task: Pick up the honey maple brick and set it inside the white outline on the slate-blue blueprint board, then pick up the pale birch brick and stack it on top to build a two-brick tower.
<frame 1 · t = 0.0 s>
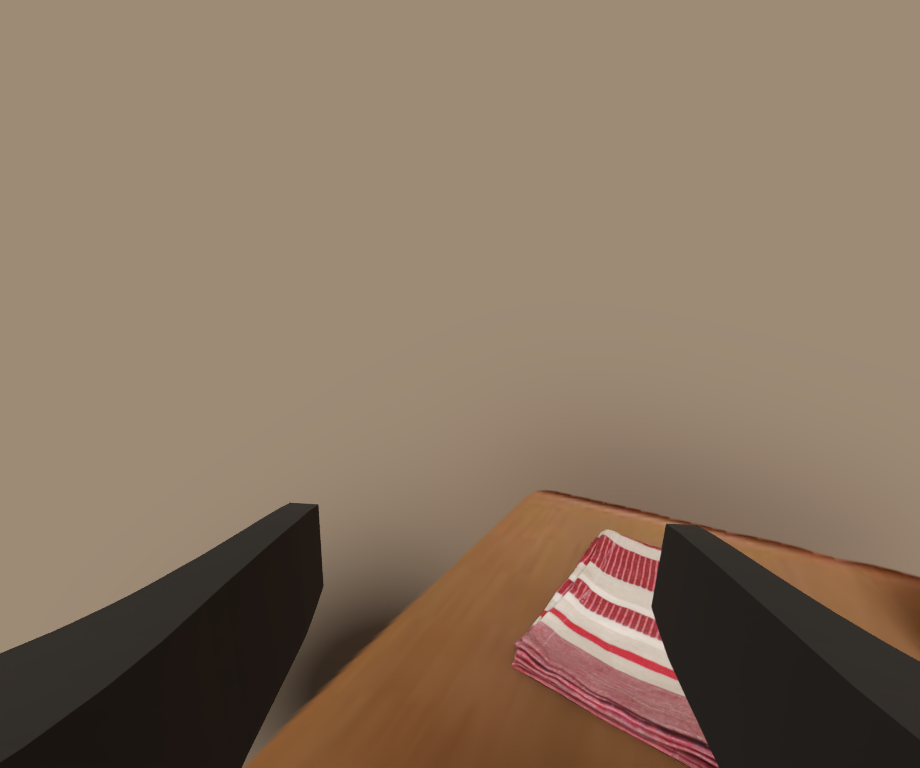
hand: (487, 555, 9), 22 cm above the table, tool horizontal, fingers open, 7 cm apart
dish towel: (657, 634, 39), on the table
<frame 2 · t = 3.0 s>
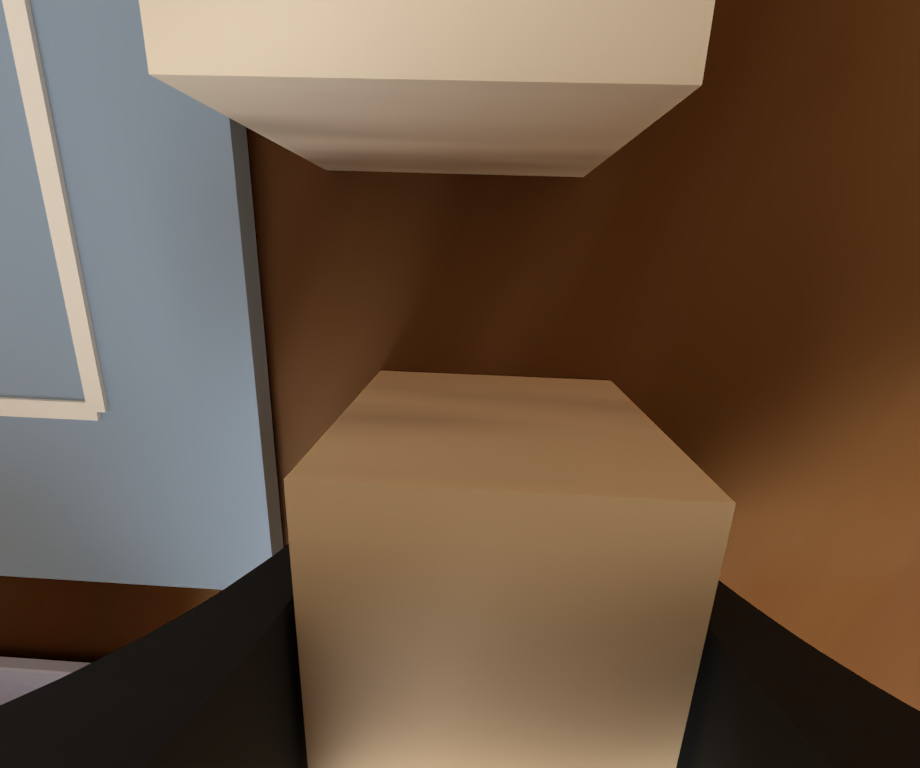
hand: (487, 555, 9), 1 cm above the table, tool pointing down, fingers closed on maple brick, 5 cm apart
maple brick: (486, 517, 11), on the table, touching gripper
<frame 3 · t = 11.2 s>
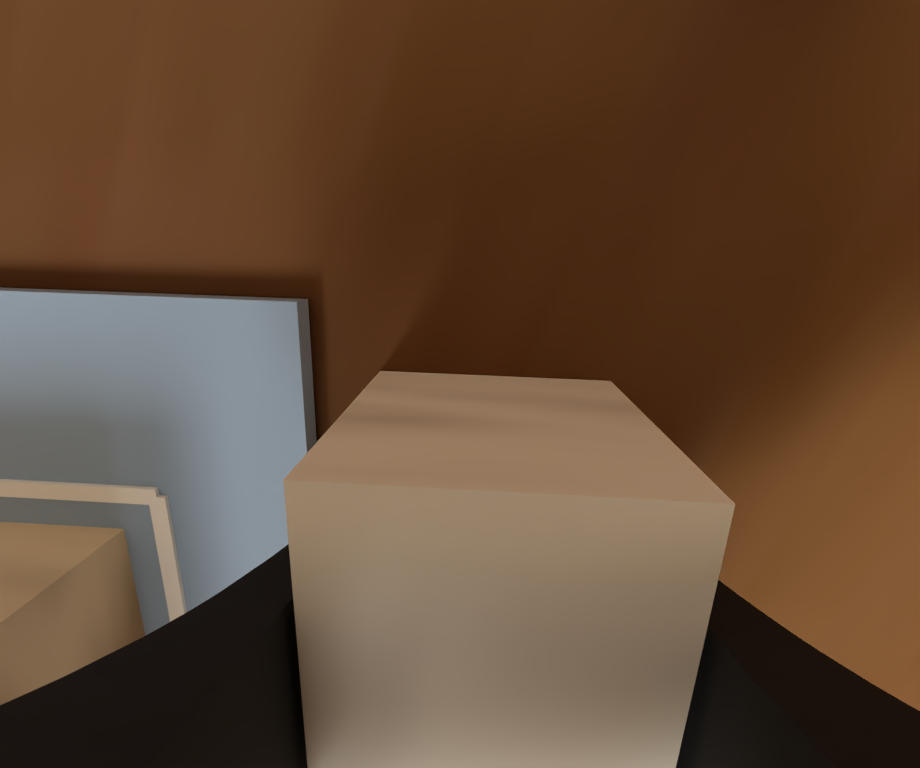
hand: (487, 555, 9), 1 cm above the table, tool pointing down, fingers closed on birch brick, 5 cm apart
maple brick: (53, 641, 12), point 1 cm above the table, touching blueprint board
birch brick: (486, 517, 11), on the table, touching gripper
blueprint board: (74, 624, 12), on the table
when the fingers open (8 cm above the table, at t = 15.3 s): birch brick stays where it is, resting on maple brick.
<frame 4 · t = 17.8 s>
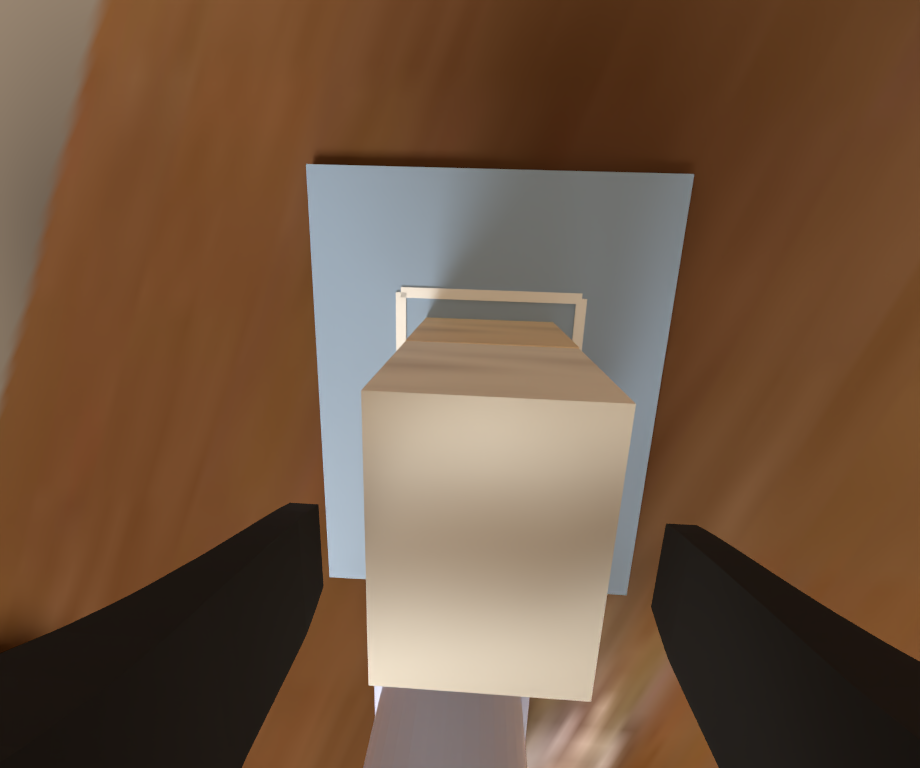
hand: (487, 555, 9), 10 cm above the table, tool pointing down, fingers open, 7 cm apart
maple brick: (485, 403, 19), point 1 cm above the table, touching birch brick, blueprint board
birch brick: (485, 455, 14), point 6 cm above the table, touching maple brick
blueprint board: (485, 400, 19), on the table
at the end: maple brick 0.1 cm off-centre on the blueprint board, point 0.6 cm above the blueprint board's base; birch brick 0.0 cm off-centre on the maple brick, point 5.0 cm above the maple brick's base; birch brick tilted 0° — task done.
